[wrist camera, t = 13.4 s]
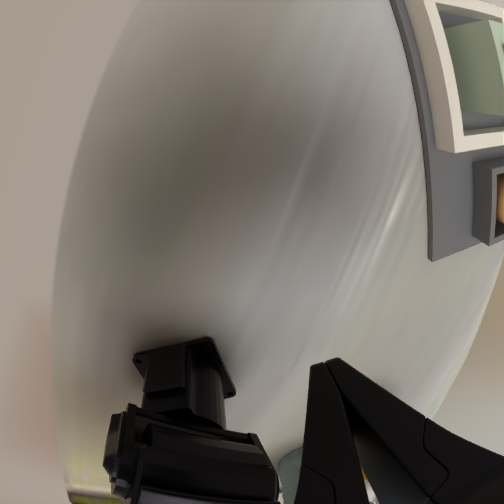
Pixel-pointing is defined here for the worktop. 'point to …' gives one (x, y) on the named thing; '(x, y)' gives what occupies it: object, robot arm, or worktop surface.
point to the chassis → (452, 129)
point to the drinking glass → (291, 475)
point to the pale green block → (478, 65)
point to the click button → (500, 198)
